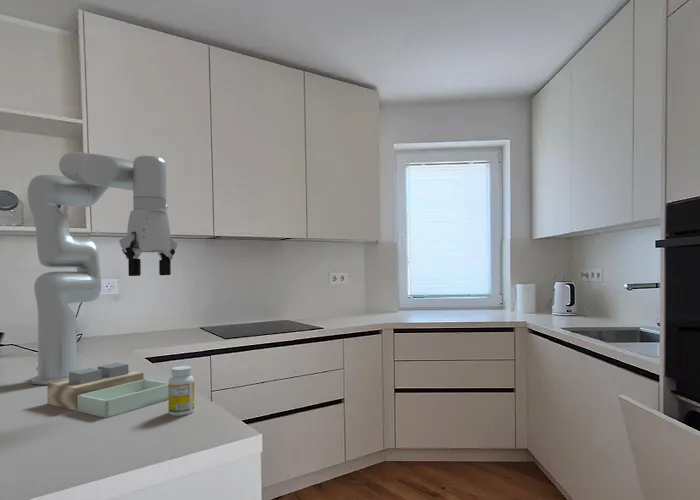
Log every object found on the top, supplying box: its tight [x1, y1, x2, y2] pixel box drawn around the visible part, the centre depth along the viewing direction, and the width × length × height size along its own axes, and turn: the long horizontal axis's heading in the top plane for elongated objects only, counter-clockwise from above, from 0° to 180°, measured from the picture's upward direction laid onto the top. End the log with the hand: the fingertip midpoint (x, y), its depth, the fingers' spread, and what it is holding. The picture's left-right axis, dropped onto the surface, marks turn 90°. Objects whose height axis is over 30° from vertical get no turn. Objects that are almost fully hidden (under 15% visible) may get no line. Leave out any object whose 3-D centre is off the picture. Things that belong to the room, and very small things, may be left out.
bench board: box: [46, 370, 145, 412], centre depth 114 cm, size 12×17×5 cm
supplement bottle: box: [167, 365, 195, 417], centre depth 101 cm, size 5×5×10 cm
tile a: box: [97, 362, 129, 378], centre depth 117 cm, size 5×5×2 cm
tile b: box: [69, 367, 102, 384], centre depth 111 cm, size 5×5×2 cm
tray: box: [77, 378, 168, 419], centre depth 108 cm, size 11×17×4 cm, turn 149°
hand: (150, 275), depth 115 cm, fingers open, 9 cm apart
